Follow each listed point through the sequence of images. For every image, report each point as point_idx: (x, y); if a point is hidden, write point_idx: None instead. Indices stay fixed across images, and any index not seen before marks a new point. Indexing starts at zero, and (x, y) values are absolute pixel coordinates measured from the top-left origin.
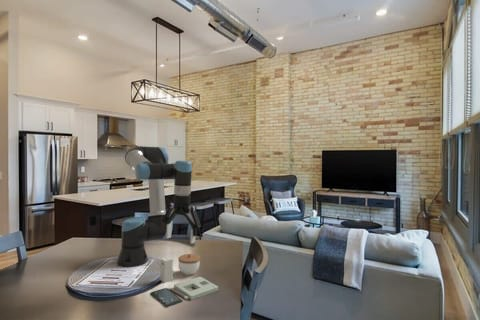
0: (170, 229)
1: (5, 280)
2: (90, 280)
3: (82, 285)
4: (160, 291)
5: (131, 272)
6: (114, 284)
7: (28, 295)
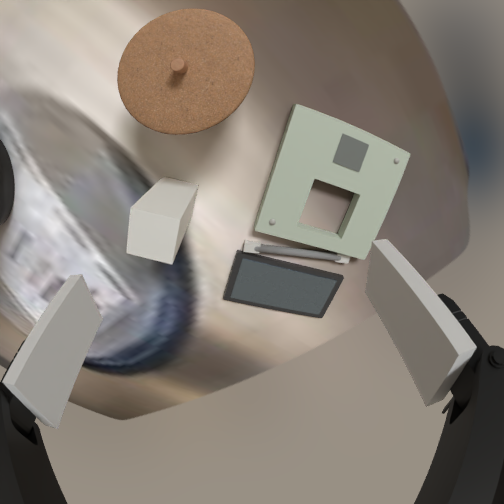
0: (53, 346)
1: None
2: None
3: None
4: (245, 281)
5: (45, 233)
6: None
7: None
